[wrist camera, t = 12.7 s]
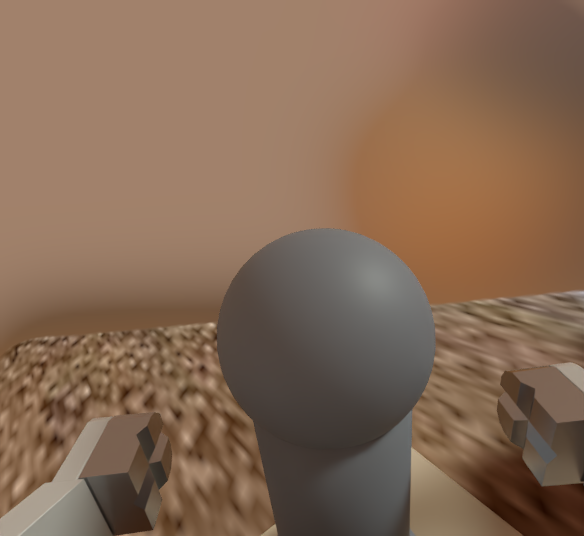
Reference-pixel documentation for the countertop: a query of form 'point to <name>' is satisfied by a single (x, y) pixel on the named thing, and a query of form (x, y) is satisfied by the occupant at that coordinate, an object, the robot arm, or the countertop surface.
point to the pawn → (330, 378)
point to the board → (444, 506)
